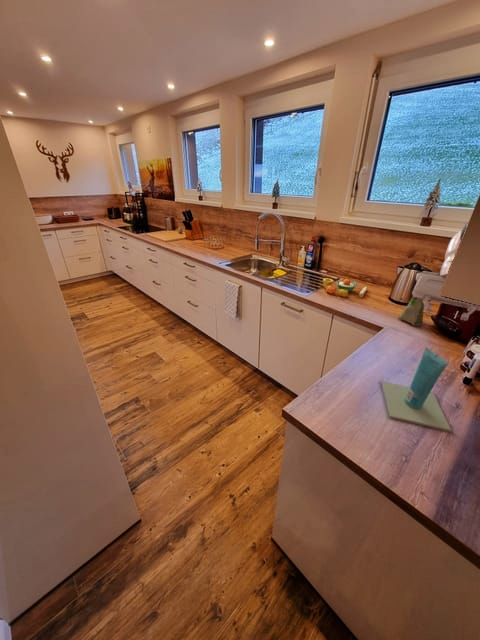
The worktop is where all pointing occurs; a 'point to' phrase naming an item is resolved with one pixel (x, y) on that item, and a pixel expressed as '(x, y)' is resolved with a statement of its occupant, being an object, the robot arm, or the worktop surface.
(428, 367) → the tube
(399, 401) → the mat
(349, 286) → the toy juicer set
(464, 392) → the worktop surface
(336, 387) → the worktop surface
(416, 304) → the pouch
